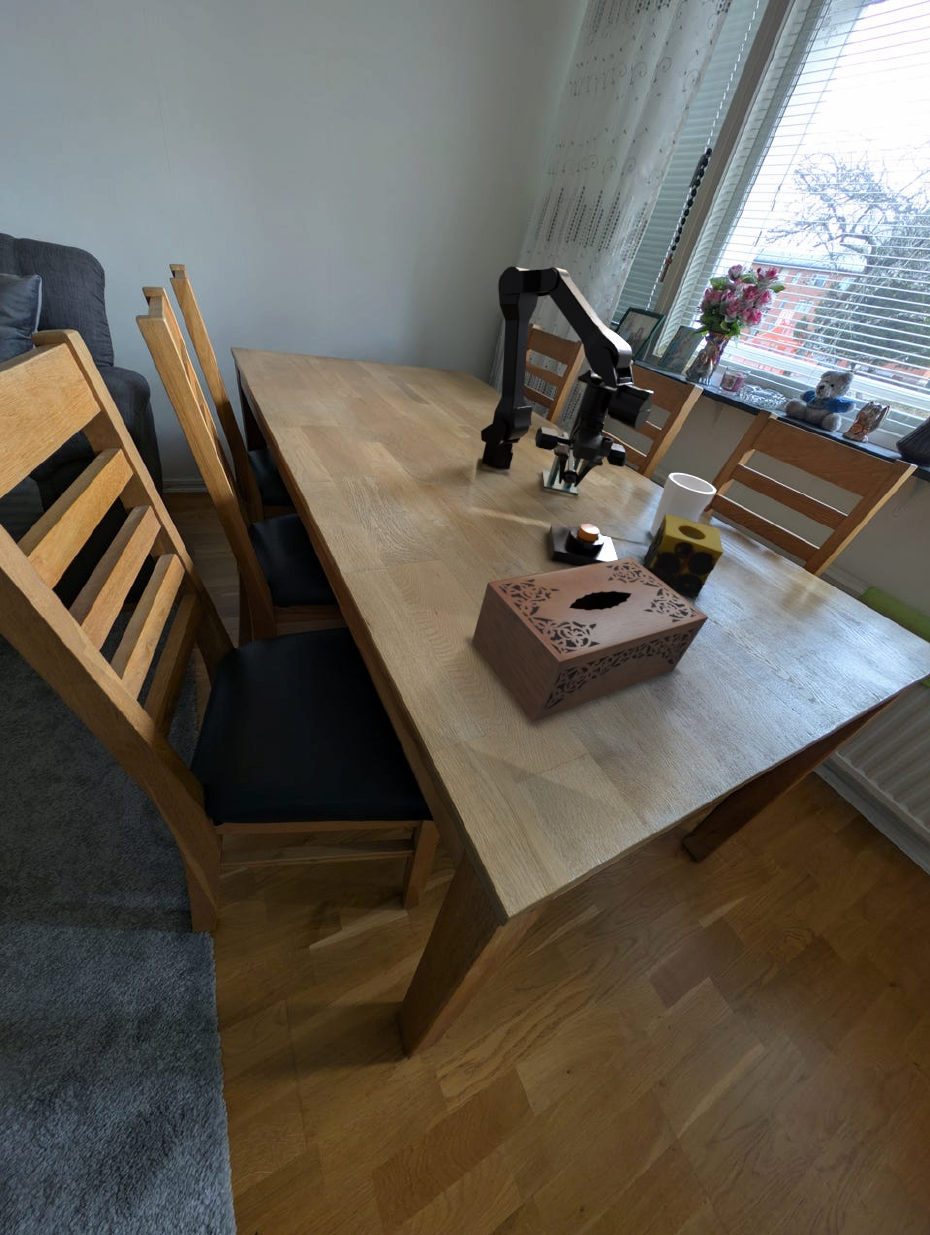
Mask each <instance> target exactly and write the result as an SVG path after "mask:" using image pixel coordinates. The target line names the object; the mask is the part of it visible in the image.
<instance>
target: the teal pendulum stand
mask: <svg viewBox="0 0 930 1235" xmlns="http://www.w3.org/2000/svg"><path fill="white" fill-rule="evenodd" d="M561 437H565V438H569V434H568V432H566V431H562V434H561ZM581 460H582V459H576V458H574V470H575V471H576V472H577V471H578V468H579V465H580V462H581ZM541 474H542V480H543V488H545V489H549V490H554V491H558V492H563V493H566V494H572V495H576V496H578V495H579V492H578V486H577V487H574V483H573V484H566V483H565V482H564V481H563V480H562V482H561V484H559V459H558V456H556V455H555V456H554V460H553V463H552V465H551V468H550V471H548V470H544V469H543V470H542V473H541Z"/></svg>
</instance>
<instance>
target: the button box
mask: <svg viewBox="0 0 930 1235" xmlns="http://www.w3.org/2000/svg"><path fill="white" fill-rule="evenodd" d="M580 526H581V525H577V526H576V525H575V526H573V527H571V528H569V527H564V526H560V525H556V524H550V527H549V530H548V533H547V536H548V537H547V538H548V545H549V546H548V547H549V553H550V554H549V556H550V561H552V562H557V563H561V564H565V565H566V564H567V565H571V566H574V567H579V566H584V565H590V564H596V563H601V562H607V561H613V560H618V559H619V558H618V556H617V552H616V550H615V546H614V543H613V539H612V538H611V537H610V536H605V535H602V534H601V533H600V532H599V535H598V537H597V539H596V541H587V540H584V539H582V538H580V537H579V536H578V535H577V534H578V531H579V528H580Z"/></svg>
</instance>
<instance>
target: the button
mask: <svg viewBox="0 0 930 1235" xmlns="http://www.w3.org/2000/svg"><path fill="white" fill-rule="evenodd" d="M579 526H580V528H579V531H578V534H577V535H578V536H579V537H580V538H582V539H584V540H587V541H596V539H597V537H598V535H599V533H600V532H601V531H600V529H599V528H598V527H597V526H595V525H593V524H589V523H582V524H581V525H579Z"/></svg>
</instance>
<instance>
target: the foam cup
mask: <svg viewBox="0 0 930 1235" xmlns="http://www.w3.org/2000/svg"><path fill="white" fill-rule="evenodd" d="M716 492H717V489H716V488H715V486H714V485H712V484H711V483H709V482H707V481H706V480H704V479H701V478H700V477H697V476H694V475H691V474H688V473H682V472H670V473H669V475H668V477H667V479H666V481H665V483H664V485H663V491H662V493H661V497H660V499H659V503H658V506H657V508H656V512H655V515H654V517H653V521H652V524H651V526H650V530H649V533H650V535H651V536H652V537H653V538H654V536H655V535H656V533H657V531H658V529H659V528H660V525H661V523H662V521H663V518H664V516H665V514H670V515H674V516H677V517H680V518H684V519H687V520H690V521H693V522H696V521H697V520H698V519H699V517H700V516H701V514H702V513H703V512H704V510H705V509H706V508H707V506H708V505H710V504H711V502H712V501H713V498H714V496H715V495H716Z"/></svg>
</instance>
